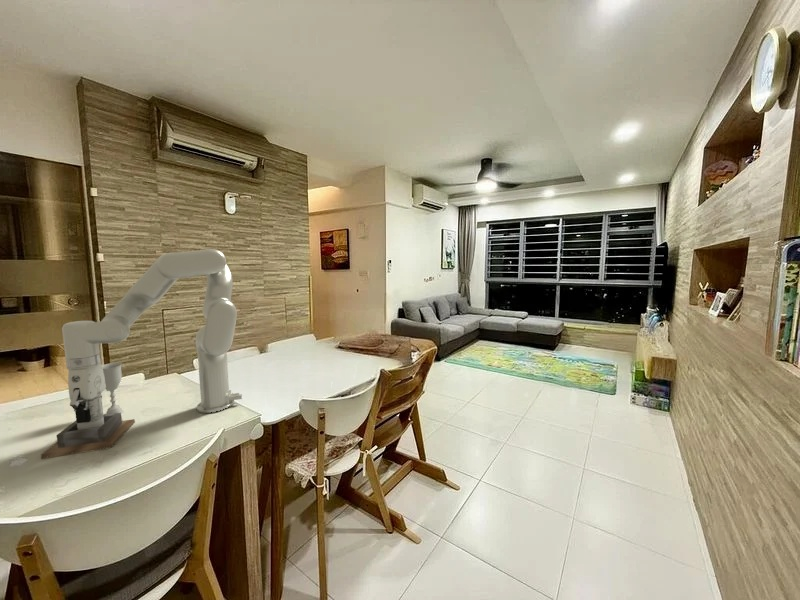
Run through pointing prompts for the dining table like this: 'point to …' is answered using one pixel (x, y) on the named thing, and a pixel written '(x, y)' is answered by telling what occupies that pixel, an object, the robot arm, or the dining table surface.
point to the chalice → (112, 384)
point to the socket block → (89, 437)
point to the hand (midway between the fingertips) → (90, 416)
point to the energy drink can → (93, 413)
